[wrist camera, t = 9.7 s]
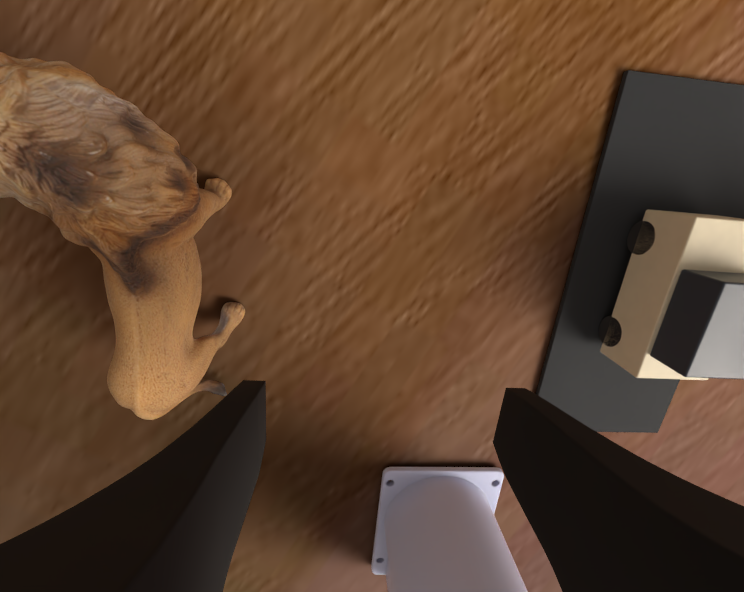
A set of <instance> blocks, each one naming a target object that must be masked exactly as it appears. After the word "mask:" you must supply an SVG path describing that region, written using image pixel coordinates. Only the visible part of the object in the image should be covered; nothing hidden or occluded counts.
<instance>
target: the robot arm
mask: <svg viewBox="0 0 744 592" xmlns="http://www.w3.org/2000/svg"><path fill="white" fill-rule="evenodd" d="M265 442H266V386H265V381H250V380H243V381H242V382H241V383H240V384H239V385H238V386H237V387H235V388H234V389H233V390H232V391H231V392H230V393H229V394H228V395H227V396H226V397H225V398H224V399H223V400H222V401H220V402H219V403H218V404H217V405H216V406H215V407H214V408H213V409H212V410H211V411H209V412H208V413H207V414H206V415H205V416H204V417H203V418H202V419H200V420H199V421H198V422H197V423H196V424H195V425H194V426H192V427H191V428H190V429H189V430H187V431H186V432H185V433H184V434H182V435H181V436H180V437H179V438H177V439H176V440H175V441H174V442H172V443H171V444H170V445H169V446H167V447H166V448H165V449H163V450H162V451H161V452H159V453H158V454H157V455H155V456H154V457H152V458H151V459H150V460H148V461H147V462H145V463H144V464H142V465H141V466H139V467H138V468H136V469H135V470H133V471H132V472H130V473H129V474H127V475H126V476H124V477H123V478H121V479H119V480H118V481H116V482H114V483H113V484H111V485H109V486H108V487H106V488H104V489H103V490H101V491H99V492H97V493H96V494H94V495H92V496H91V497H89V498H87V499H86V500H84V501H82V502H81V503H79V504H77V505H76V506H74V507H72V508H70V509H68V510H66V511H65V512H63V513H61V514H59V515H57V516H55V517H53V518H51V519H50V520H48V521H46V522H44V523H42V524H40V525H38V526H36V527H34V528H32V529H30V530H28V531H26V532H24V533H22V534H20V535H18V536H16V537H14V538H12V539H10V540H8V541H6V542H4V543H2V544H0V592H223V588H224V584H225V580H226V576H227V572H228V569H229V566H230V562H231V559H232V555H233V552H234V549H235V546H236V543H237V540H238V537H239V534H240V531H241V528H242V525H243V522H244V519H245V516H246V513H247V510H248V507H249V504H250V500H251V497H252V494H253V491H254V488H255V485H256V482H257V479H258V476H259V472H260V467H261V462H262V458H263V453H264V448H265ZM493 444H494V447H495V449H496V452H497V455H498V458H499V461H500V463H501V466H502V469H503V471H504V474H505V476H506V478H507V480H508V482H509V484H510V486H511V488H512V490H513V492H514V494H515V496H516V498H517V499H518V501H519V503H520V505H521V507H522V509H523V511H524V513H525V515H526V517H527V519H528V520H529V522H530V524H531V526H532V528H533V530H534V532H535V534H536V536H537V538H538V539H539V541H540V543H541V545H542V547H543V549H544V551H545V553H546V555H547V557H548V559H549V561H550V563H551V565H552V568H553V570H554V572H555V575H556V577H557V579H558V582H559V584H560V587H561V589H562V591H563V592H744V506H741V505H739V504H737V503H734V502H732V501H730V500H728V499H725V498H723V497H721V496H718V495H716V494H714V493H712V492H709V491H707V490H705V489H703V488H700V487H698V486H696V485H694V484H692V483H690V482H688V481H685V480H683V479H681V478H679V477H677V476H675V475H673V474H671V473H669V472H667V471H665V470H663V469H661V468H659V467H657V466H656V465H654V464H652V463H650V462H648V461H646V460H644V459H642V458H640V457H638V456H637V455H635V454H633V453H631V452H630V451H628V450H626V449H624V448H623V447H621V446H619V445H617V444H616V443H614V442H612V441H611V440H609V439H607V438H606V437H604V436H602V435H601V434H599V433H597V432H596V431H594V430H592V429H591V428H589V427H588V426H586V425H584V424H583V423H581V422H580V421H578V420H576V419H575V418H573V417H572V416H570V415H569V414H567V413H565V412H564V411H562V410H561V409H559V408H558V407H556V406H554V405H553V404H551V403H550V402H548V401H546V400H545V399H543V398H541V397H540V396H538V395H536V394H535V393H533V392H531V391H529V390H527V389H525V388H506V390H505V395H504V399H503V403H502V407H501V411H500V415H499V419H498V424H497V428H496V432H495V436H494V440H493ZM504 474H503V472H502V470H501V469H500V468H498V467H387V468H385V469H384V470H383V474H382V482H381V490H380V498H379V507H378V515H377V523H376V531H375V539H374V547H373V556H372V564H371V568H372V572H373V573H374V574H376V575H386V579H387V588H388V592H527V589H526V587H525V585H524V582H523V580H522V578H521V576H520V573H519V571H518V569H517V566H516V564H515V562H514V560H513V557H512V555H511V553H510V551H509V548H508V546H507V544H506V541H505V539H504V537H503V535H502V532H501V530H500V528H499V525H498V523H497V521H496V519H495V516H494V512H495V509H496V505H497V501H498V497H499V493H500V490H501V486H502V482H503V478H504ZM388 480H392V481H388ZM494 480H495V481H494Z"/></svg>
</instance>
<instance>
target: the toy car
mask: <svg viewBox="0 0 744 592" xmlns="http://www.w3.org/2000/svg"><path fill="white" fill-rule="evenodd" d="M627 245H628V249H629V250H630V252H631V253H632V254H631V258H630V261H629V264H628V267H627V270H626V273H625V276H624V279H623V282H622V285H621V288H620V291H619V294H618V297H617V300H616V304H615V307H614V310H613V313H612V315H611V316H607V317H605V318H604V319H603V320H602V321H601V323H600V326H599V337H600V340H601V341H602V346H601V350H600V352H601V353H602V354H604V355H605V356H607V357H608V358H609V359H611V360H612V361H614V362H615V363H616V364H618V365H619V366H621V367H622V368H623V369H625V370H626V371H627V372H629V373H630V374H632V375H633V376H634V377H636V378H655V379H685V380H707V379H708V378H724V379H744V219H741V218H733V217H726V216H718V215H707V214H696V213H684V212H672V211H661V210H649V209H648V210H646V212H645V215H644V218H643V220H642V221H639V222H638V223H636V224H635V225H634V226H633V227H632V228H631V230H630V232H629V234H628V238H627Z"/></svg>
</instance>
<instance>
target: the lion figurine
mask: <svg viewBox="0 0 744 592" xmlns="http://www.w3.org/2000/svg"><path fill="white" fill-rule="evenodd" d="M231 195H232V190H231V187H230V186H229V185H228V184H227V183H226V181H224V180H222V179H219V178H214V179H207V180H206V182H205V189H199V185H198V183H197V168H196V167H195V166H194V164H193V163H192V162H191V161H190V160H189V159H188V158H186V157H184V156H183V155H181V153H180V146H179V144H178V142H177V141H176V140H175V139H174V138H173V137H172V136H171V135H169V134H168V133H166V132H165V131H163V130H162V129H161V128H159V127H158V125H157V124H156V123H154V122H153V121H152V120H151V119H148V118H147V117H145V116H144V115H143V114H142V112H141V111H140V110H139V109H138V108H137V107H136V106H135V105H134V104H132V103H131V102H129V101H126V100H123V99H120V98H119V97H117V96H116V95H115V94H114V92H112V91H111V90H109V89H107V88H105V87H103V86H101V85H99V84H98V83H97V82H96V80H95V79H94V78H93V76H92V75H90V74H88V73H85V72H83V71H82V70H80V69H78V68H76V67H74V66H72V65H71V64H69V63H68V62H65V61H50V62H47V61H43V60H40V59H37V58H29V59H18V58H15V57H12V56H8V55H6V54H5V53H2V52H0V198H4V197H14V198H16V199H17V200H18V201H19V202H21V203H22V204H23V205H25V206H26V207H28V208H31V209H33V210H35V211H37V212H39V213H41V214H44V215H46V216H48V217H49V218H50V219H51V220H52V221H53V222H54V223H55V224H56V225H57V226H58V227H59V228H60V231H61V234H62V235H63V236H64V238H65V239H67V240H69V241H71V242H73V243H76V244H78V245H81V246H88V247H89V248H90V249H91V251H92V252H93V253H94V254H95V255H96V256H97V257H98V258H99V259H100V261H101V262H102V266H103V275H104V282H105V288H106V294H107V299H108V304H109V307H110V310H111V312H112V315H113V320H114V324H115V333H116V345H115V351H114V354H113V357H112V360H111V364H110V367H109V370H108V374H107V383H108V387H109V390H110V392H111V394H112V395H113V397H114V399H115V400H116V402H117V403H118V404H120V405H121V406H123V407H125V408H128V409H131V410H132V411H133V412H134V413H135V415H136V416H138V417H140V418H142V419H147V420H153V419H157V418H159V417H161V416H163V415H165V414H166V413H168V412H169V411H170V410H171V409H173V408H174V407H175V406H177V405H178V404H179V403H180V402H182V401H183V400H184V399H186V398H187V397H189V396H190V395H192V394H194V393H196V392H199V391H210V392H212V393H214V394H218V395H221V396H226V395H227V393H226V390H225V386H224V384H223V383H221V382H219V381H214V380H205V381H201V379H202V378H203V376H204V375H205V373H206V371H207V369H208V367H209V365H210V363H211V361H212V359H213V356H214V355H215V353H216V351H217V350H218V349H220V348H221V347H222V346H223V345H224V344H225V343H226V341H227V339H228V337H229V335H230V334H231V332H232V331H233V330H234V328H235V327H236V326H237V325H238V324H239V323H240V322H241V320H242V319H243V317H244V315H245V308H244V307H243V306H242V305H241V304H240V303H238V302H227V303H226V304H224V306H223V307H222V309H221V317H220V322H219V325H218V327H217V329H216V330H215V332H214V333H212V334H211V335H207V336H203V337H200V338H197V339H194V338H193V334H192V332H193V326H194V322H195V319H196V315H197V311H198V308H199V304H200V299H201V291H202V273H201V265H200V260H199V255H198V250H197V246H196V242H195V240H194V236H195V234H196V233H197V232H198V231H199V230H200V229H201V228H202V226H203V225H204V223H205V222H206V220H207V219H208V218H209V217H210V216H211V215H213V214H214V213H215V212H217V211H219V210H220V209H221V208H223V207H224V206H225V205H226V203H227V202H228V201H229V199H230V198H231Z"/></svg>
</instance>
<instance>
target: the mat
mask: <svg viewBox="0 0 744 592" xmlns="http://www.w3.org/2000/svg"><path fill="white" fill-rule="evenodd" d="M648 209H649V210H661V211H672V212H684V213H696V214H707V215H718V216H726V217H733V218H741V219H744V85H739V84H731V83H723V82H716V81H708V80H700V79H692V78H685V77H677V76H669V75H662V74H654V73H646V72H638V71H631V70H628V71H625V72H624V73H623V77H622V81H621V84H620V88H619V92H618V95H617V99H616V103H615V106H614V110H613V114H612V117H611V121H610V125H609V128H608V132H607V136H606V139H605V143H604V146H603V150H602V154H601V157H600V161H599V165H598V168H597V172H596V176H595V179H594V183H593V187H592V190H591V194H590V198H589V201H588V205H587V209H586V212H585V216H584V220H583V223H582V227H581V231H580V234H579V238H578V241H577V245H576V249H575V252H574V256H573V260H572V263H571V267H570V271H569V274H568V278H567V282H566V285H565V289H564V293H563V296H562V300H561V304H560V307H559V311H558V315H557V318H556V322H555V326H554V329H553V333H552V336H551V340H550V344H549V347H548V351H547V355H546V358H545V362H544V366H543V369H542V373H541V377H540V380H539V384H538V388H537V391H536V395H538V396H540V397H541V398H543V399H545V400H546V401H548V402H550V403H551V404H553V405H554V406H556V407H558V408H559V409H561V410H562V411H564V412H565V413H567V414H569V415H570V416H572V417H573V418H575V419H576V420H578V421H580V422H581V423H583V424H584V425H586V426H588V427H589V428H591V429H592V430H594V431H596V432H651V433H658V431H659V428H660V426H661V423H662V421H663V419H664V416H665V414H666V412H667V409H668V407H669V404H670V402H671V400H672V397H673V395H674V392H675V390H676V388H677V385H678V383H679V381H680V379H655V378H636V377H634V376H633V375H632V374H630V373H629V372H627V371H626V370H625V369H623V368H622V367H621V366H619V365H618V364H616V363H615V362H614V361H612V360H611V359H609V358H608V357H607V356H605V355H604V354H602V353H601V352H600V350H601V346H602V341H601V340H600V337H599V326H600V323H601V321H602V320H603V319H604V318H605V317H607V316H611V315H612V313H613V310H614V307H615V304H616V300H617V297H618V294H619V291H620V288H621V285H622V282H623V279H624V276H625V273H626V270H627V267H628V264H629V261H630V258H631V254H632V253H631V252H630V250H629V249H628V245H627V238H628V234H629V232H630V230H631V228H632V227H633V226H634V225H635V224H636V223H638V222H639V221H642V220H643V218H644V215H645V212H646V210H648Z"/></svg>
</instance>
